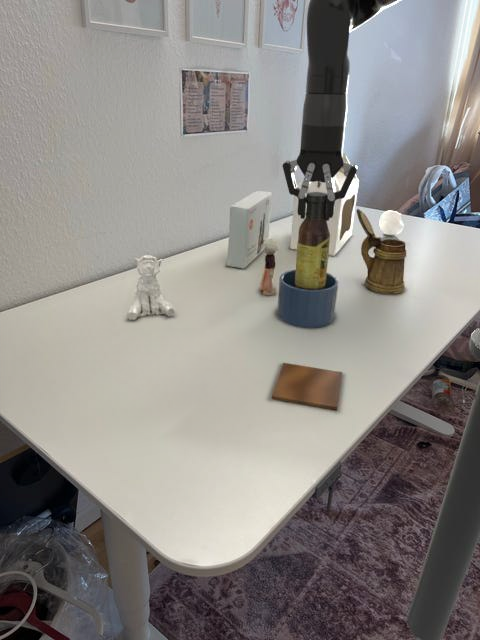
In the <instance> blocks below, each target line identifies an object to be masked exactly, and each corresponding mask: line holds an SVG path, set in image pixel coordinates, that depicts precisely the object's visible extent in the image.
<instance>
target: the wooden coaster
mask: <svg viewBox="0 0 480 640" xmlns="http://www.w3.org/2000/svg"><path fill="white" fill-rule="evenodd" d="M342 374H343V372H342V371H338V370H331V369H330V370H329V369H325V368H319V367H313V366H306V365H300V364H294V363H287V362H283V363H282V366H281V369H280V371H279V374H278V377H277V380H276V382H275V386H274V389H273V391H272V395H271V399H272V400H276V401H283V402H287V403H288V402H289V403H293V404H298V405H299V404H300V405H306V406H311V407H316V408H317V407H318V408H321V409H328V410H334V411H337V410H338V403H339V397H340V389H341V381H342V376H343V375H342Z"/></svg>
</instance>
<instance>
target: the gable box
mask: <svg viewBox="0 0 480 640" xmlns="http://www.w3.org/2000/svg"><path fill="white" fill-rule="evenodd" d="M342 155H343V158H344V162H346V163H348V164H351V162H350V161H349V159H348V157H347V155H346V154H345V153H344V152H342ZM304 177H305V176H304V175H303V178H302V179H301V180H300V182H299V183H298V184H297V188H299V189H301V186H302V183H303V180H304ZM345 179H346V176H345V175H344V169H343V168H341V169H340V170H339V171H338V173H337V174H336V175H335V176H334V183H335V191H340V190H341V188H342V186H343V183H344V181H345ZM359 182H360V180H359V178H358V176H357V173H356V174H355V176H354V178H353V180H352V182H351V185H350V187H349V189H348V191H347V193H346V195H345V197H344V198H343V199H341V198H340V199H337V200H336V201H335V206H334V214H333V217H332V218H330V219H329V221H327V225H328V229H329V233H330V243H329V254H328V256H331V257H332V256H333V257H335V256H336V255H337V254H338V252H339V251H340V250H341V249H342V248H343V246H344V245H345V244H346V242H347V241H348V240H349V239H350V238H351V236H352V235H353V226H354V220H355V212H356V204H357V199H358V191H359V184H360V183H359ZM310 192H322V193H326V194H328V193H327V189H326V184H325V183H324V182H320V181H315V182H311V183H310V185H309V188H308V191H307V193H310ZM306 196H307V194H306ZM326 205H327V204H326ZM306 209H307V205H306ZM305 218H306V216H305ZM305 218H304V219H302V218H301V215H298V197H297V196H295V195H293V209H292V219H291V234H290V247H289V248H290V249H291V250H296V251H297V243H298V236H299V228H300V226H301V223H303V221H304V220H305Z"/></svg>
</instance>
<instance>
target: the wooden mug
mask: <svg viewBox="0 0 480 640" xmlns="http://www.w3.org/2000/svg"><path fill="white" fill-rule="evenodd" d="M356 216H357V219H358V221H359V223H360V225H361V227H362V229H363V231H364V233H365V234H366V235H367V236H366V237H365V238H364V239H363V241H362V242H361V247H360V254H361V256H362V259H363V262H364V263H365V266H366V269H367V276H366V277H365V280H364V284H365V286H366V288H367V289H368V290H370V291H372V292H375V293H378V294H382V295H396V294H401V293H402V292H404V291H405V280H404V277H405V263H406V262H405V261H406V260H405V259H406V257H407V249H406V242H405V241H403V240H400V239H396V238H385V239H382V238H381V237H379V236H376V233H375V232H374V229H373V226H372V224H371V222H370V220H369V218H368V217H367V215H366V213H364V212H363V211H362V210H360V209H359V208H357V209H356ZM371 248H374V249H373V254H374V256H371V255H370V254H369V251H370V249H371Z"/></svg>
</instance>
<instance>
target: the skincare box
mask: <svg viewBox="0 0 480 640" xmlns="http://www.w3.org/2000/svg"><path fill="white" fill-rule="evenodd" d="M272 205H273V192H269V191H263V190H255V191H254V192H252V193H250V194H248V195H246V196H244V197H243V198H242V199H240V200H238V201H237V202H235V203H233V204H232V205H230V208H229V226H228V247H227V261H226V266H227V267H233V268H239V269H246V267H247V266H248V265H250V264H251V263H252V262H253V261H254V260H255V259H256V258H257V257H258V256H259V255H260V254H261V253H262V252H263V251H264V248H265V241H266V240H267V239H270V238H269V236H270V226H271V216H272Z"/></svg>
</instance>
